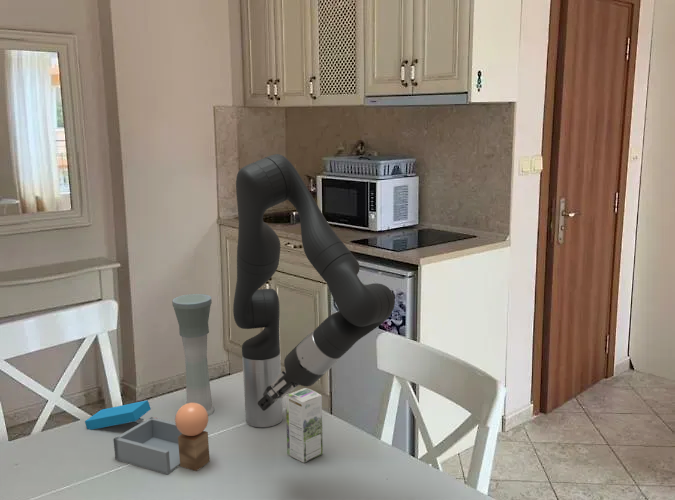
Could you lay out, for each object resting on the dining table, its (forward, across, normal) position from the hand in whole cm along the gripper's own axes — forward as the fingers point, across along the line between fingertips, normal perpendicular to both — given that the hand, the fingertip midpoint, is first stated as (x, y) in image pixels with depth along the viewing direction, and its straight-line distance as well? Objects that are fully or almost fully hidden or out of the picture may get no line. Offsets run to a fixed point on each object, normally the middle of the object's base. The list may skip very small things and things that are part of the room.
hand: (262, 405), depth 136 cm
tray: (+32, 0, -8) cm, 33 cm away
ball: (+18, 0, -8) cm, 20 cm away
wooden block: (+25, 0, -1) cm, 25 cm away
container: (+36, -22, -12) cm, 44 cm away
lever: (+45, -7, -20) cm, 49 cm away
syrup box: (+11, -14, +13) cm, 22 cm away
